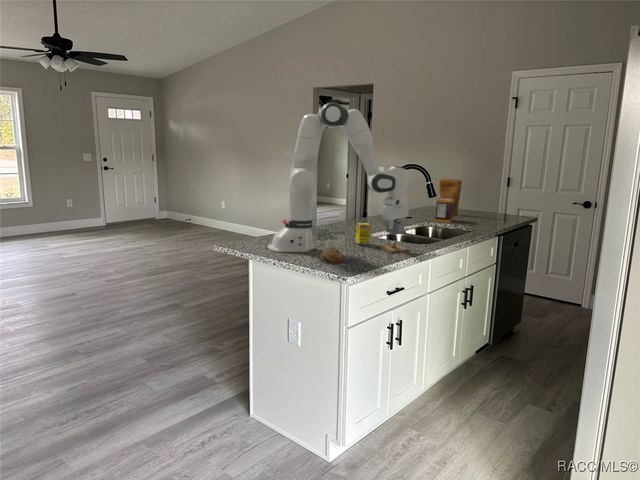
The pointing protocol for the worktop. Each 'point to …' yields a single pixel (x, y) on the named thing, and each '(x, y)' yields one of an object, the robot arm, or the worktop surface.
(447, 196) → the pancake mix bag
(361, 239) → the supplement box
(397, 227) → the grey hollow block
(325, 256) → the bread roll
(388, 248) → the tan flat piece
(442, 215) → the supplement box
